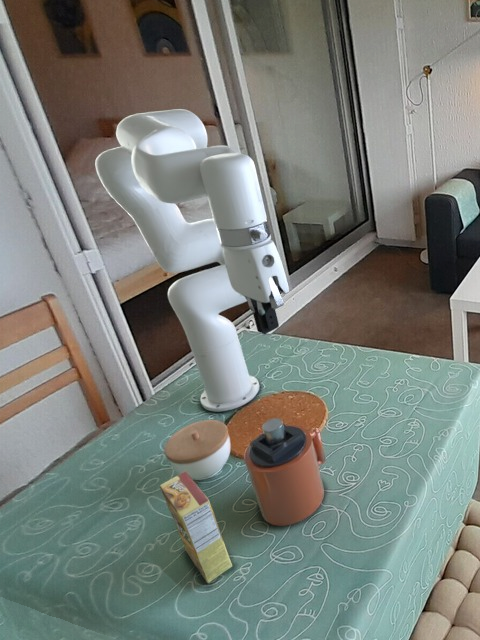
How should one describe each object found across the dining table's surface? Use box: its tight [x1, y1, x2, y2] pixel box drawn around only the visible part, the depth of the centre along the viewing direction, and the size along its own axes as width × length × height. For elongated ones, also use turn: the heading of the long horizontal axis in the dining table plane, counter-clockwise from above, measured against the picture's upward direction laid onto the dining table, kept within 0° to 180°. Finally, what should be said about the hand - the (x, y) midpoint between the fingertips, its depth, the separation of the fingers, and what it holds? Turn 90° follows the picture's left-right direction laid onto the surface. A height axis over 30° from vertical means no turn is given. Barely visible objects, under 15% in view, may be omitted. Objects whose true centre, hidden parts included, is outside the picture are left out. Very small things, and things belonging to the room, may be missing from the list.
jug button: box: [262, 418, 286, 445], centre depth 85 cm, size 3×3×3 cm
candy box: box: [159, 471, 233, 584], centre depth 79 cm, size 9×4×15 cm, turn 50°
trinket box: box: [163, 419, 232, 481], centre depth 97 cm, size 11×11×9 cm
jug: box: [243, 423, 327, 527], centre depth 90 cm, size 11×14×15 cm
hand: (268, 329), depth 89 cm, fingers closed
